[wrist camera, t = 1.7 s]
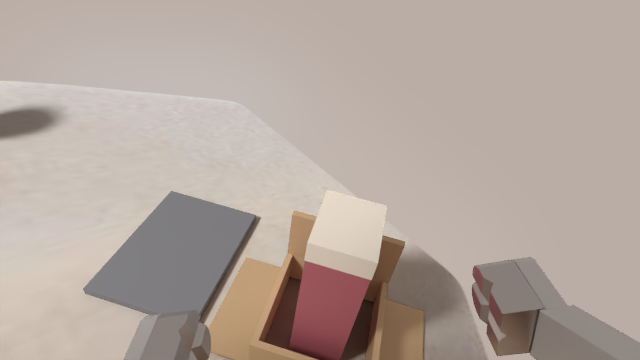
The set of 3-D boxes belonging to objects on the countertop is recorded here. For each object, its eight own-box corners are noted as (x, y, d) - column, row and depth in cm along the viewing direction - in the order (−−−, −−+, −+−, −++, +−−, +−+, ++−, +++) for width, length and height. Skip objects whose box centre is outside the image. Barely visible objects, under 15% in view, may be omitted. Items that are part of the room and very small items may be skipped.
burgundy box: (288, 349, 36) (307, 242, 26) (305, 297, 40) (327, 189, 30) (338, 365, 35) (378, 263, 25) (349, 310, 40) (387, 205, 30)
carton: (169, 404, 31) (151, 349, 24) (246, 259, 43) (247, 197, 37) (417, 492, 29) (468, 456, 22) (423, 312, 41) (456, 256, 35)
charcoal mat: (85, 293, 37) (83, 288, 37) (172, 195, 49) (171, 191, 49) (193, 328, 36) (193, 324, 35) (255, 219, 48) (255, 215, 48)
